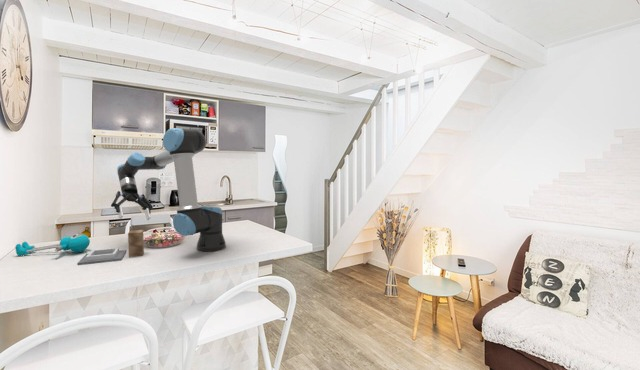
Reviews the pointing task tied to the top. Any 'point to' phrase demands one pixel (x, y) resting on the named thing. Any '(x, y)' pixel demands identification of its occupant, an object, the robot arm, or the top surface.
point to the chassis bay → (102, 256)
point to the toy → (58, 245)
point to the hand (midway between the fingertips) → (135, 218)
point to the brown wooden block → (136, 243)
